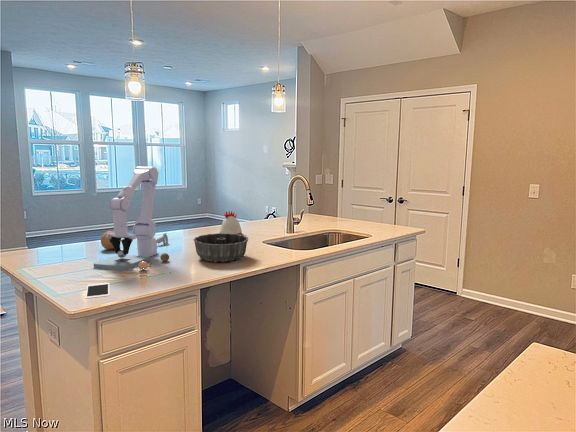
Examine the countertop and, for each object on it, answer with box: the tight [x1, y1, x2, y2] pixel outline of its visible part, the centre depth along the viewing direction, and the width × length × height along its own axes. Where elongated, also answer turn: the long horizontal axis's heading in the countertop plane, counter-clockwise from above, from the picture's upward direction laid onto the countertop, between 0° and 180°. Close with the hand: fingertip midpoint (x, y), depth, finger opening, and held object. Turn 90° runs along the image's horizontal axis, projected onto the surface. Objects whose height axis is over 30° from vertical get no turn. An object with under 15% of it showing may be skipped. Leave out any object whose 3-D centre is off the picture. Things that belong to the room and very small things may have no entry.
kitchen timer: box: [219, 210, 243, 236], centre depth 263 cm, size 14×14×15 cm
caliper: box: [156, 232, 169, 245], centre depth 228 cm, size 20×1×6 cm, turn 151°
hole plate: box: [93, 254, 151, 272], centre depth 191 cm, size 18×16×2 cm
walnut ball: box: [159, 252, 170, 263], centre depth 197 cm, size 4×4×4 cm
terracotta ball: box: [137, 261, 149, 271], centre depth 182 cm, size 4×4×4 cm
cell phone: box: [85, 282, 111, 299], centre depth 156 cm, size 8×16×1 cm, turn 23°
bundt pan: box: [193, 232, 249, 263], centre depth 204 cm, size 26×26×10 cm
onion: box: [100, 230, 114, 250], centre depth 220 cm, size 10×10×10 cm
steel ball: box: [116, 248, 128, 258], centre depth 191 cm, size 4×4×4 cm
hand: (122, 253), depth 191 cm, fingers closed on steel ball, 4 cm apart
